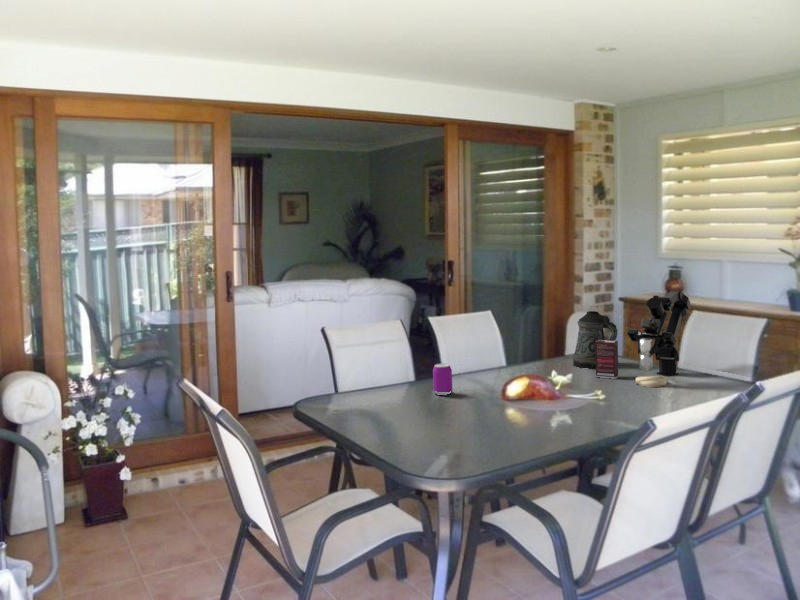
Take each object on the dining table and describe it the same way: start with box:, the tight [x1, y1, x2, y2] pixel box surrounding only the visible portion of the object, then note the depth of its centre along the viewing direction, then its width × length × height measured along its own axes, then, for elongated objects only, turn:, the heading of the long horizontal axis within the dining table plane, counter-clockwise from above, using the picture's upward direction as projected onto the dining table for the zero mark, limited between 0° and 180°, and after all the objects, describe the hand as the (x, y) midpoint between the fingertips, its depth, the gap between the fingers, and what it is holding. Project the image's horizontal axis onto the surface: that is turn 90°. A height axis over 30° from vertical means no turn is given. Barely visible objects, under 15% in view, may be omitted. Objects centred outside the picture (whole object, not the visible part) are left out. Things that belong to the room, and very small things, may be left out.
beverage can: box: [432, 363, 453, 392], centre depth 296 cm, size 8×8×12 cm
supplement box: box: [595, 339, 619, 380], centre depth 312 cm, size 9×5×16 cm, turn 58°
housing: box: [639, 338, 654, 372], centre depth 296 cm, size 5×5×12 cm
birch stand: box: [635, 375, 668, 388], centre depth 299 cm, size 12×12×2 cm
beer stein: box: [572, 310, 618, 370], centre depth 335 cm, size 16×19×25 cm
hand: (644, 354), depth 295 cm, fingers closed on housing, 5 cm apart
